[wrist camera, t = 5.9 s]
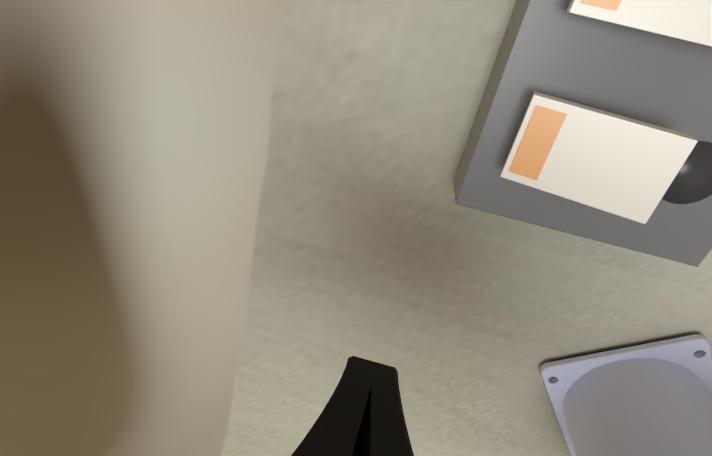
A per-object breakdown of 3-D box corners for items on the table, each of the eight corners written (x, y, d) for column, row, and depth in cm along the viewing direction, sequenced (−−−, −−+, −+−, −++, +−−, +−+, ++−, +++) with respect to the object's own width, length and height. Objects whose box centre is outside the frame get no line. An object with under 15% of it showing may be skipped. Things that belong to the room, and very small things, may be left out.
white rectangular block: (640, 215, 15) (645, 225, 15) (501, 170, 16) (500, 177, 16) (690, 134, 14) (698, 141, 13) (534, 90, 15) (534, 94, 14)
